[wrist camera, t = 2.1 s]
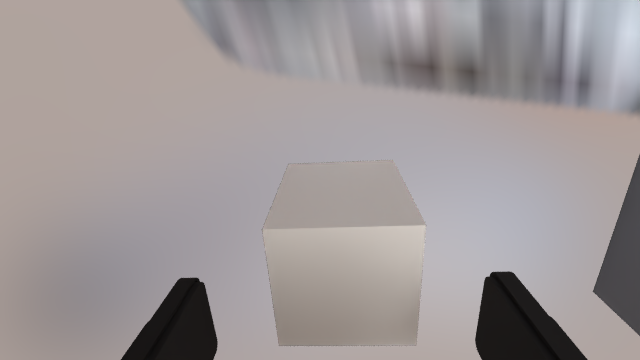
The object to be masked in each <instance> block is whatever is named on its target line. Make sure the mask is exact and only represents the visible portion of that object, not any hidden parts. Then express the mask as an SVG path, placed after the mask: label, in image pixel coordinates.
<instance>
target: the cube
mask: <svg viewBox="0 0 640 360" xmlns="http://www.w3.org/2000/svg"><path fill="white" fill-rule="evenodd" d="M262 232H263V238H264V246H265V252H266V259H267V266H268V273H269V280H270V287H271V294H272V300H273V308H274V314H275V321H276V328H277V335H278V342H279V346H416V344H417V331H418V319H419V306H420V294H421V282H422V271H423V270H422V269H423V257H424V246H425V234H426V224H425V222H424V220H423V218H422V216H421V214H420V212H419V210H418V208H417V206H416V204H415V202H414V200H413V198H412V196H411V194H410V192H409V190H408V188H407V186H406V184H405V182H404V181H403V179H402V177H401V175H400V173H399V171H398V169H397V167H396V165H395V163H394V161H393V160H376V161H352V162H324V163H300V164H299V163H298V164H288V166H287V169H286V171H285V174H284V176H283V179H282V181H281V184H280V186H279V189H278V191H277V194H276V196H275V199H274V201H273V204H272V206H271V209H270V211H269V214H268V216H267V219H266V221H265V224H264V226H263V229H262Z"/></svg>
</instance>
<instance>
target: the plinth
mask: <svg viewBox="0 0 640 360" xmlns="http://www.w3.org/2000/svg"><path fill="white" fill-rule="evenodd" d="M593 292H594V293H595V294H596V295H597V296H598V297H599V298H601V300H602V301H604V302H605V303H606V304H607V305H608V306H609V307H610V308H611V309H612V310H613V311H614V312H615V313H616V314H617V315H618V316H619V317H620V318H621V319H623V320H624V321H625V322H626V323H627V324H628V325H629V326H630V327H631V328H632V329H633V330H634V331H635V332H636V333H637V334H638V335H639V336H640V155H639V158H638V161H637V164H636V167H635V170H634V173H633V176H632V179H631V182H630V185H629V188H628V191H627V193H626V196H625V199H624V202H623V205H622V208H621V211H620V214H619V218H618V220H617V223H616V226H615V229H614V232H613V234H612V237H611V240H610V243H609V246H608V249H607V252H606V255H605V258H604V261H603V264H602V267H601V270H600V273H599V276H598V278H597V282H596V284H595V287H594V290H593Z"/></svg>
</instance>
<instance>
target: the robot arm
mask: <svg viewBox="0 0 640 360" xmlns="http://www.w3.org/2000/svg"><path fill="white" fill-rule="evenodd" d="M475 341H476V347H477V350H478V352H479V355H480V357H481V359H482V360H587V358H586V357H585V356H584V355H583V354H582V353H581V351H580V350H579V349H578V348H577V347H576V345H575V344H574V343H573V342H572V341H571V339H570V338H569V337H568V336H567V335H566V333H565V332H564V331H563V330H562V329H561V327H560V326H559V325H558V324H557V322H556V321H555V320H554V319H553V318H552V317H550V316H549V315H548V314H547V313H546V312H545V311H544V309H543V308H542V307H541V306H540V304H539V303H538V302H537V301H536V300H535V298H534V297H533V296H532V295H531V294H530V292H529V291H528V290H527V289H526V288H525V286H524V285H523V284H522V283H521V281H520V280H519V279H518V278H517V277H516V275H515V274H514V273H512V272H492V273H491V274H490V277H486V278H485V281H484V288H483V294H482V300H481V306H480V313H479V319H478V326H477V332H476V338H475ZM216 351H217V337H216V332H215V329H214V324H213V319H212V315H211V311H210V306H209V302H208V297H207V294H206V289H205V285H204V283H203V282H200V281H199V279H198V278H180V279H179V280H178V281H177V282H176V284H175V285H174V286H173V288H172V289H171V291H170V292H169V294H168V295H167V297H166V298H165V299H164V301H163V302H162V304H161V305H160V307H159V308H158V310H157V311H156V312H155V314H154V315H153V317H152V318H151V320H150V321H149V322H148V323H147V324H146V325H145V326H144V328H143V329H142V330H141V332H140V333H139V335H138V336H137V337H136V339H135V340H134V342H133V343H132V345H131V346H130V347H129V349H128V350H127V352H126V353H125V355H124V356H123V357H122V359H121V360H213V359H214V356H215V354H216Z"/></svg>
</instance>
